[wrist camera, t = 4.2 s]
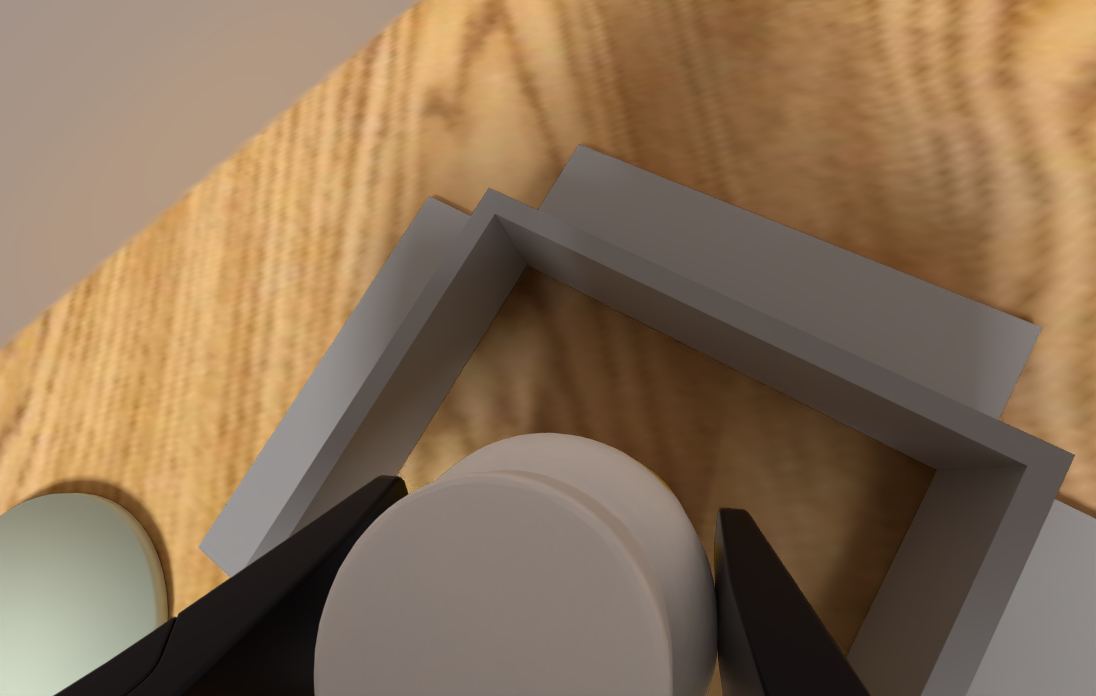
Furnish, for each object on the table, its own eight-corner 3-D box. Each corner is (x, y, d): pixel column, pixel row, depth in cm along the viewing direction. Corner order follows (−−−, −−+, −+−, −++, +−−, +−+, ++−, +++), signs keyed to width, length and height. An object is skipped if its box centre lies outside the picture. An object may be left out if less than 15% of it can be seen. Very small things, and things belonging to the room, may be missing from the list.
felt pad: (29, 901, 15) (8, 914, 15) (-115, 682, 19) (-135, 687, 18) (222, 601, 17) (209, 604, 16) (56, 441, 20) (41, 441, 19)
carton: (802, 1395, 10) (872, 1852, 7) (133, 655, 17) (4, 697, 13) (1220, 405, 12) (1422, 376, 9) (489, 113, 19) (454, 36, 16)
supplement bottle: (477, 500, 16) (209, 524, 6) (636, 420, 15) (596, 323, 6) (551, 689, 14) (330, 1094, 5) (732, 605, 14) (886, 867, 4)
